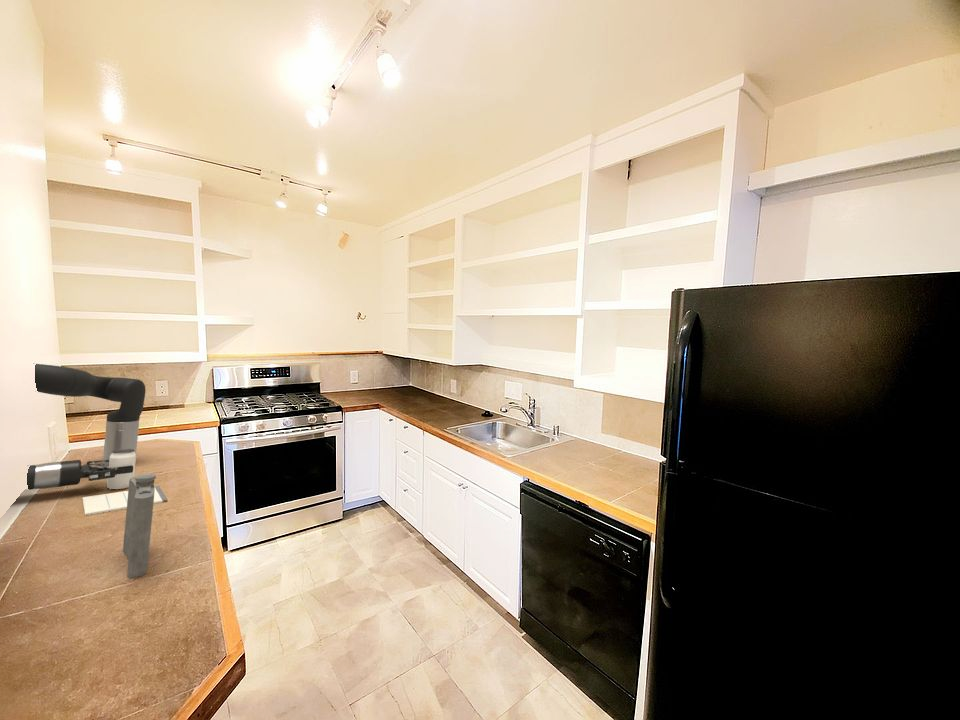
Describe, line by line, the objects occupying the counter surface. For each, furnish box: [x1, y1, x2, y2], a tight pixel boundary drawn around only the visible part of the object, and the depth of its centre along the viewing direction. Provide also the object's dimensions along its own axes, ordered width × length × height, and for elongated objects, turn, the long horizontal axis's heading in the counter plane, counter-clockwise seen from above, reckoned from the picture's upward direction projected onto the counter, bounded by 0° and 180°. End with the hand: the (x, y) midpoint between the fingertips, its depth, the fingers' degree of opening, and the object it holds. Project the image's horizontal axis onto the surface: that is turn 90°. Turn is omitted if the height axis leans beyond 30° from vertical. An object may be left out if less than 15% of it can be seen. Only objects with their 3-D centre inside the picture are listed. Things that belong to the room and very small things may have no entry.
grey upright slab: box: [122, 473, 157, 579], centre depth 89 cm, size 16×4×20 cm, turn 46°
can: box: [106, 449, 137, 491], centre depth 127 cm, size 6×6×12 cm
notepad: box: [82, 485, 168, 517], centre depth 118 cm, size 14×18×1 cm
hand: (131, 466), depth 129 cm, fingers closed on can, 6 cm apart
